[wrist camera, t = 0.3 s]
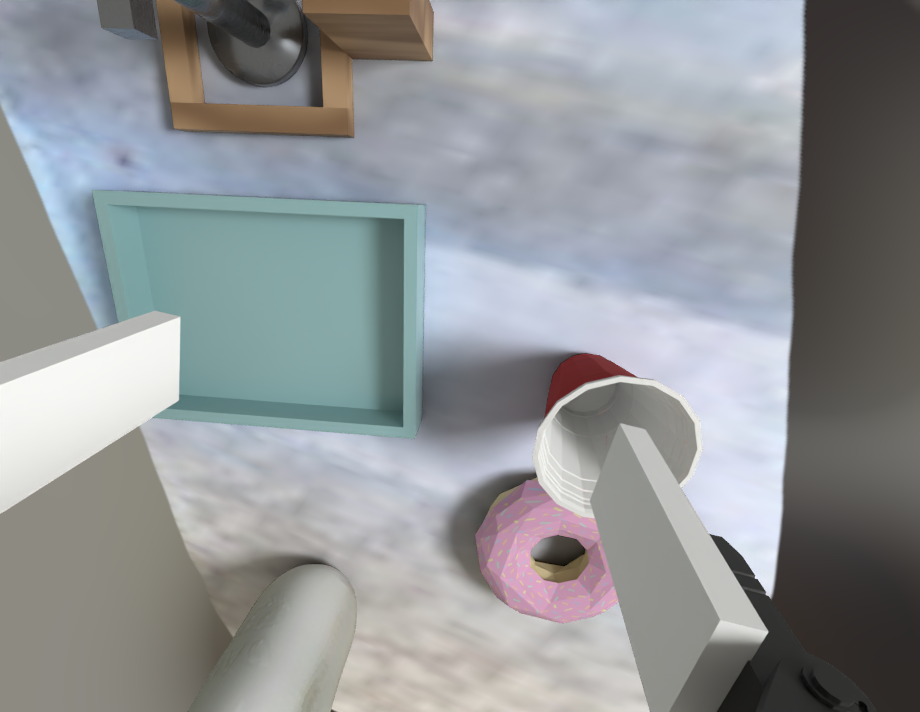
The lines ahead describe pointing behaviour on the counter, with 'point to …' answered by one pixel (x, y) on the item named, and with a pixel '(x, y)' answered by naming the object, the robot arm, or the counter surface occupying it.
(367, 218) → the tray
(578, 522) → the donut
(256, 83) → the grey metal stand
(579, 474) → the plastic cup
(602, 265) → the counter surface
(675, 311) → the counter surface
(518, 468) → the counter surface
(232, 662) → the glass bottle
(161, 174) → the counter surface
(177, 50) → the ring
